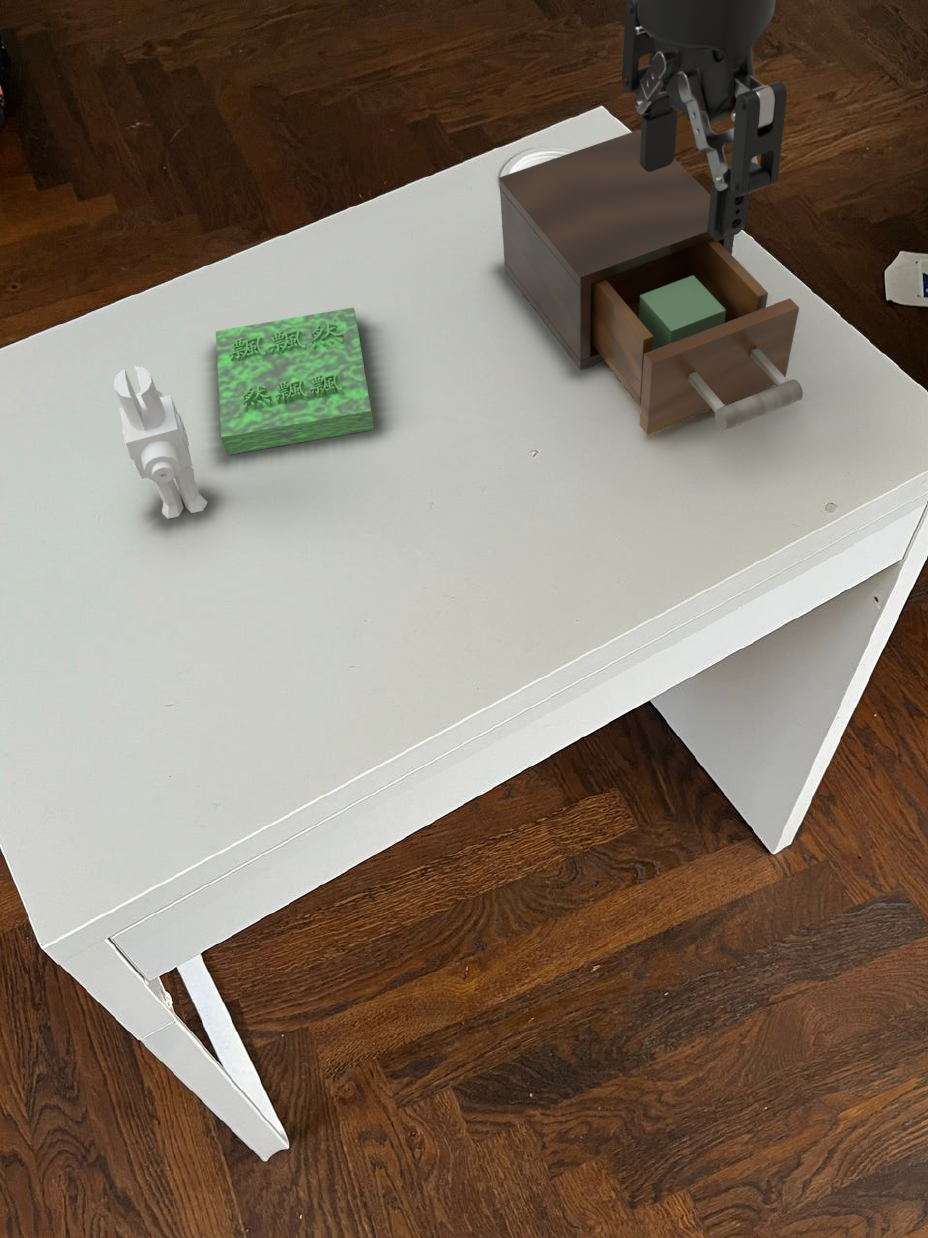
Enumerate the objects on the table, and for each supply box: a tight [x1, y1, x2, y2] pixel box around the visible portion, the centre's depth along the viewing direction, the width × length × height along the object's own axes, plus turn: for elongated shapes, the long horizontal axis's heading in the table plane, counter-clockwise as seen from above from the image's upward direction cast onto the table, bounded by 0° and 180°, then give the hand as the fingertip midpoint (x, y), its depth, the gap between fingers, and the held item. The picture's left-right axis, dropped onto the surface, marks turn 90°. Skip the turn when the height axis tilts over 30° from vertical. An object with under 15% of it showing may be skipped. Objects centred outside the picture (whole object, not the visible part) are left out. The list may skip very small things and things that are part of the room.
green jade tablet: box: [215, 306, 375, 456], centre depth 89 cm, size 11×12×2 cm
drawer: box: [590, 239, 804, 436], centre depth 83 cm, size 18×12×7 cm, turn 24°
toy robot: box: [113, 365, 208, 520], centre depth 80 cm, size 4×8×12 cm, turn 17°
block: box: [639, 275, 726, 350], centre depth 85 cm, size 4×4×4 cm
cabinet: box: [498, 128, 735, 370], centre depth 90 cm, size 14×13×9 cm
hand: (689, 198), depth 74 cm, fingers open, 8 cm apart
